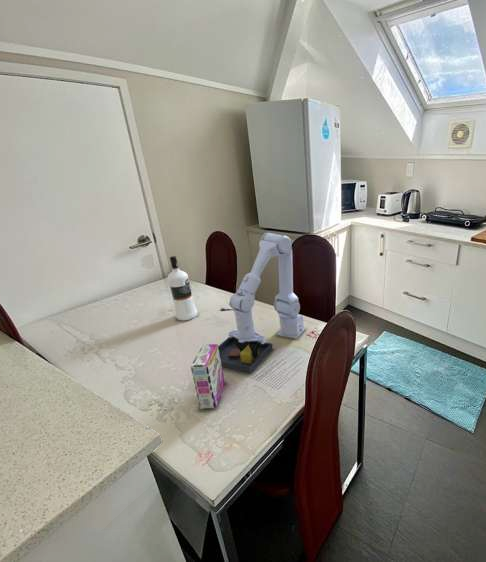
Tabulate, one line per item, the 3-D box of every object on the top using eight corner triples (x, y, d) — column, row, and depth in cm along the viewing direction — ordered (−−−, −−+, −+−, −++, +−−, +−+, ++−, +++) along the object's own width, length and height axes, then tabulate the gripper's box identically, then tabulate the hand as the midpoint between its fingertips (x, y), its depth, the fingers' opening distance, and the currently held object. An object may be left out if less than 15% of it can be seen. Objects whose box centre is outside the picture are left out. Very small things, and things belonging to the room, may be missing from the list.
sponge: (259, 354, 119) (258, 345, 118) (250, 363, 114) (249, 355, 112) (250, 352, 120) (249, 343, 119) (241, 361, 115) (239, 353, 114)
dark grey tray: (272, 350, 123) (272, 343, 121) (250, 374, 109) (249, 368, 108) (231, 341, 128) (230, 335, 127) (206, 364, 115) (204, 357, 114)
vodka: (184, 310, 153) (170, 252, 141) (201, 312, 151) (188, 253, 139) (172, 320, 145) (155, 259, 132) (190, 322, 143) (175, 260, 131)
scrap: (242, 351, 121) (242, 349, 120) (239, 358, 117) (238, 355, 117) (232, 351, 121) (232, 349, 121) (228, 358, 117) (228, 355, 117)
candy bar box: (217, 409, 95) (207, 365, 89) (200, 410, 95) (189, 366, 88) (226, 383, 106) (218, 343, 99) (211, 384, 105) (202, 344, 99)
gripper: (221, 327, 110) (227, 358, 115) (256, 333, 106) (261, 366, 111) (233, 317, 116) (238, 347, 122) (267, 323, 112) (271, 354, 117)
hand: (250, 355), depth 117 cm, fingers closed on sponge, 4 cm apart
